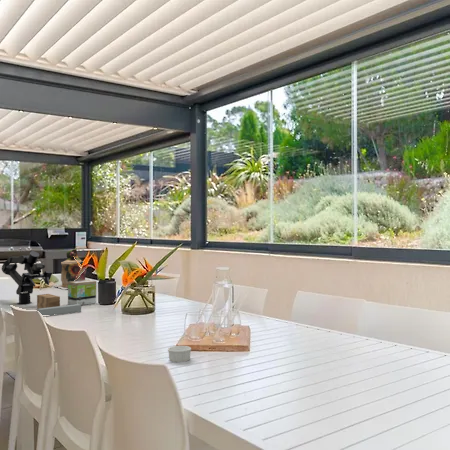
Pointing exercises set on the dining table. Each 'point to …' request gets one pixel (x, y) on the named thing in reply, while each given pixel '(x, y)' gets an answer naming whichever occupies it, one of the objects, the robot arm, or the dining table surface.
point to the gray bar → (60, 309)
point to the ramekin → (179, 353)
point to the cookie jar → (70, 269)
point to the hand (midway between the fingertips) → (41, 285)
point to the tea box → (82, 292)
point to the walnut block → (47, 301)
